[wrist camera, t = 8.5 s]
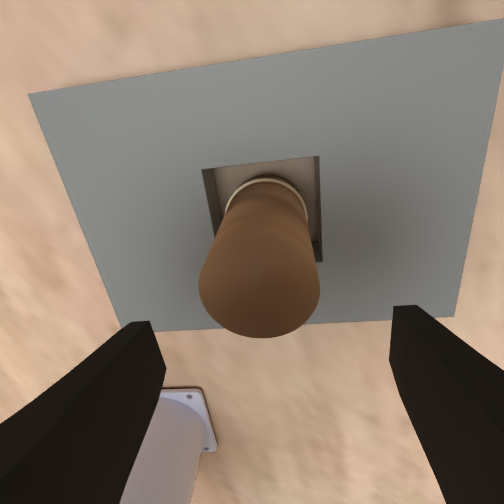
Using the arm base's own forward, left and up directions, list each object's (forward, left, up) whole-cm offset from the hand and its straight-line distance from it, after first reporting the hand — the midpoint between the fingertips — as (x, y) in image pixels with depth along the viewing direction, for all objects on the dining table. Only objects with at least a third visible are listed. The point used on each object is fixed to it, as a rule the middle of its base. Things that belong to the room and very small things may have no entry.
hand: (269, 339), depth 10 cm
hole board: (0, +1, -10) cm, 10 cm away
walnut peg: (0, +1, -10) cm, 10 cm away
